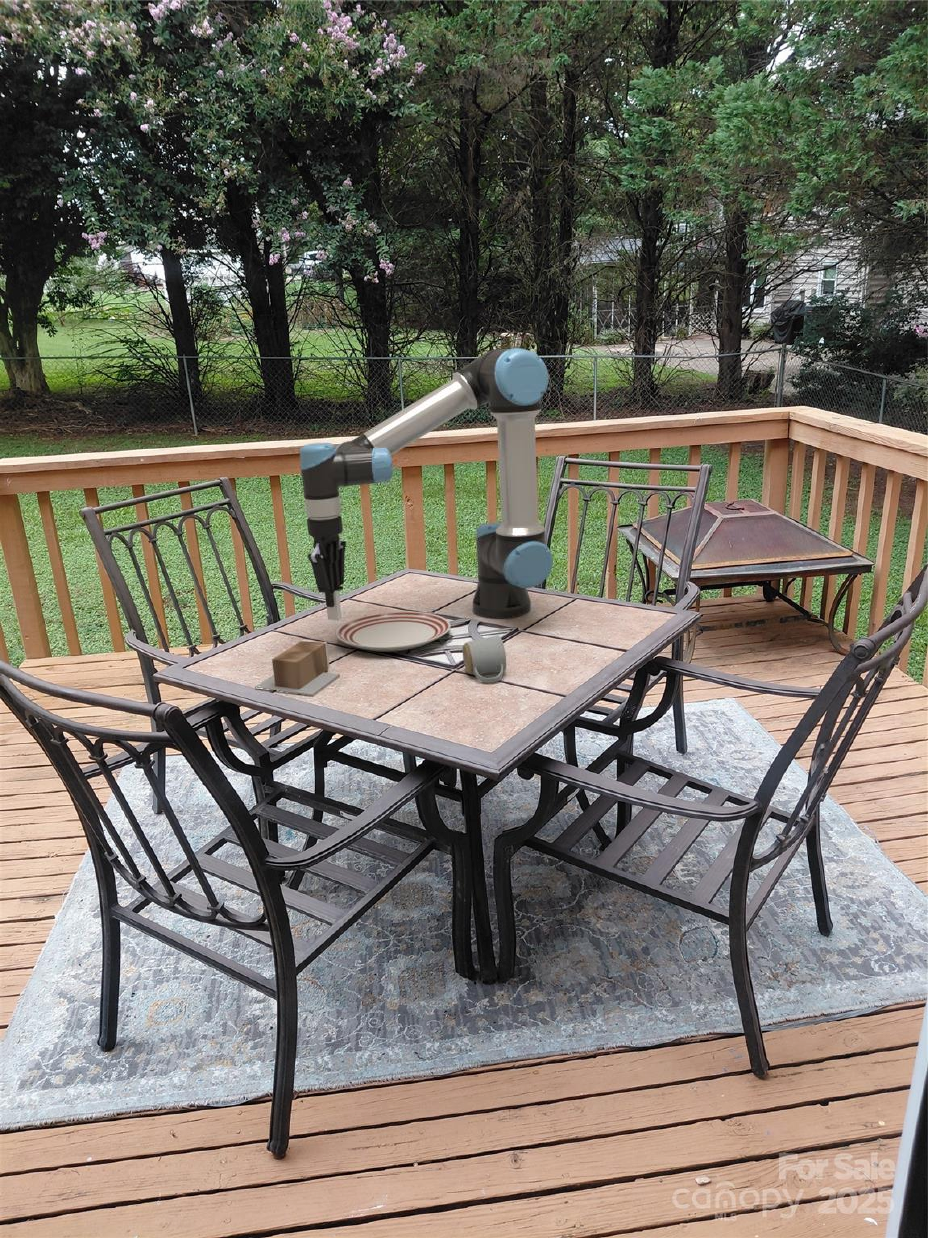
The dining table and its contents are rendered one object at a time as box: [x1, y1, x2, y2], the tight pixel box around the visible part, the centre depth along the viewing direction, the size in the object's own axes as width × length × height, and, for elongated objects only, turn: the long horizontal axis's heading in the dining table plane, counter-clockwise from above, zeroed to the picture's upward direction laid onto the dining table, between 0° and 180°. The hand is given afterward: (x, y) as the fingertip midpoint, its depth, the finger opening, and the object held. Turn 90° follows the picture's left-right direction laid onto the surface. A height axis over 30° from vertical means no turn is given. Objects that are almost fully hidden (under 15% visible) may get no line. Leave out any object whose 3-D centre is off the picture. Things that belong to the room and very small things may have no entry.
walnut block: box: [271, 639, 330, 689], centre depth 178 cm, size 6×6×12 cm
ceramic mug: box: [462, 634, 507, 684], centre depth 176 cm, size 11×8×8 cm
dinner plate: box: [335, 610, 451, 653], centre depth 200 cm, size 27×27×3 cm
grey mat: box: [255, 671, 340, 697], centre depth 177 cm, size 14×11×1 cm
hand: (334, 618), depth 189 cm, fingers closed
